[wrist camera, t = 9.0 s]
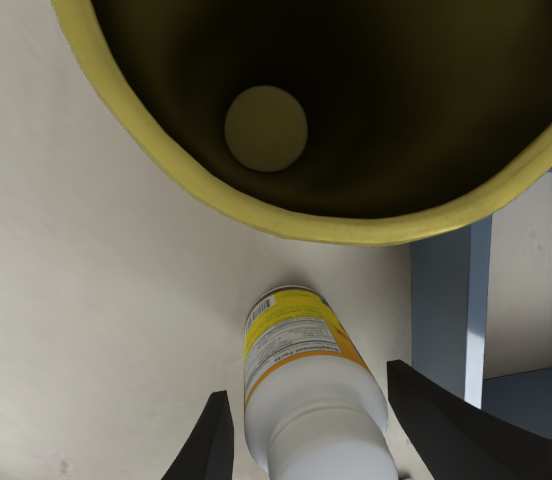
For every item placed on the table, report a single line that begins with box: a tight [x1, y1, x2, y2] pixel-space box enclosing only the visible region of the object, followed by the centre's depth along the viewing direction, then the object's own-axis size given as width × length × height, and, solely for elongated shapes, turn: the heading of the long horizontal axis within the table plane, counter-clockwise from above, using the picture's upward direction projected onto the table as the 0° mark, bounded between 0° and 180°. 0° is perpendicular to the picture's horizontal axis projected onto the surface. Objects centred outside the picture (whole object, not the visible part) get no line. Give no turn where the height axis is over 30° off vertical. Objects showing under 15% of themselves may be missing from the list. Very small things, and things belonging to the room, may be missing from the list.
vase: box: [51, 0, 552, 247], centre depth 9 cm, size 6×6×14 cm
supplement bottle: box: [244, 285, 398, 480], centre depth 14 cm, size 6×6×10 cm
